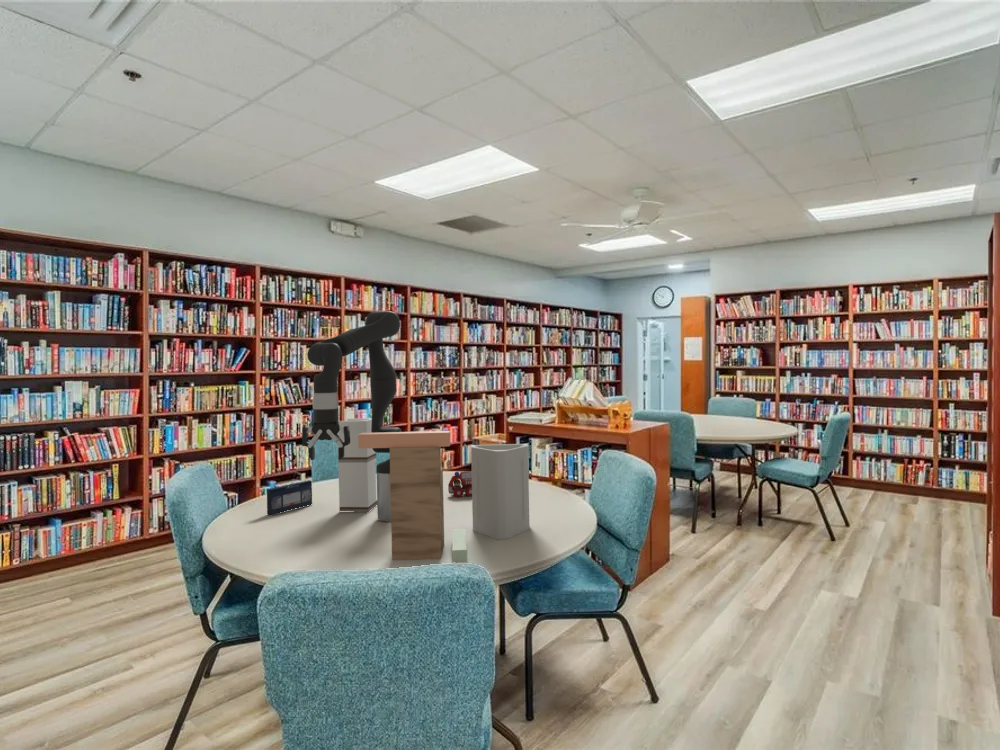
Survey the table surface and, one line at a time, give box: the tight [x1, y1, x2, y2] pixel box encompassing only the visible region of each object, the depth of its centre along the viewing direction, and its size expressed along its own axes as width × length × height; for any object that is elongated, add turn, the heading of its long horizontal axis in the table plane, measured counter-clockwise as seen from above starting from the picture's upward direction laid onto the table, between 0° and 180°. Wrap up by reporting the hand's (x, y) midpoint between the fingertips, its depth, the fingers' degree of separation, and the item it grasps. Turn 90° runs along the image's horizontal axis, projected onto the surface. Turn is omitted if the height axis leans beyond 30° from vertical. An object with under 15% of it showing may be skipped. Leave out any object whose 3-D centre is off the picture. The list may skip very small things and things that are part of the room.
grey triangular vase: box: [470, 443, 530, 540], centre depth 178 cm, size 19×15×28 cm
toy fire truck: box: [447, 470, 472, 498], centre depth 230 cm, size 7×12×10 cm, turn 105°
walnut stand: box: [389, 447, 445, 561], centre depth 160 cm, size 12×14×32 cm
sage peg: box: [451, 528, 468, 563], centre depth 161 cm, size 20×4×4 cm, turn 5°
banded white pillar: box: [337, 417, 377, 513], centre depth 211 cm, size 11×11×35 cm
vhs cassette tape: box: [266, 480, 313, 516], centre depth 212 cm, size 18×3×10 cm, turn 143°
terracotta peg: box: [358, 430, 451, 448], centre depth 157 cm, size 4×26×4 cm, turn 91°
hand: (326, 459), depth 167 cm, fingers open, 8 cm apart
